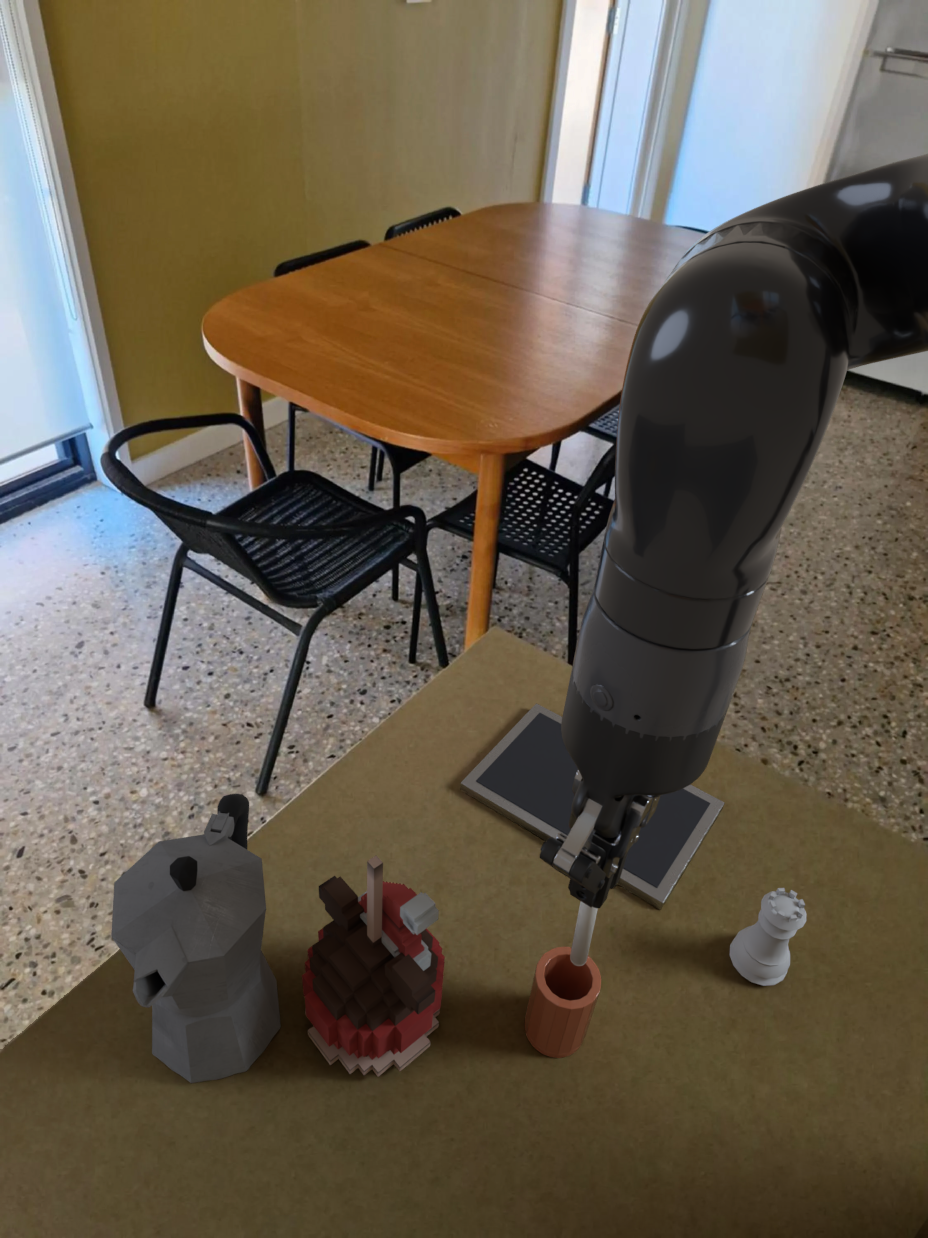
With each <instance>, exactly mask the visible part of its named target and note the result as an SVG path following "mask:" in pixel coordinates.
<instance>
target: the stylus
mask: <svg viewBox="0 0 928 1238" xmlns="http://www.w3.org/2000/svg"><path fill="white" fill-rule="evenodd" d="M593 844H594V843H593ZM596 846H597V845H596ZM598 847H599V846H598ZM598 910H599V908H594V907H589V906H588V905H586V904H585V903H583V902H581V901H580V902H579V908H578V912H577V917H576V923H575V928H574V934H573V937H572V944H571V948H572V949H571V954H570V959H571V962H572V963H573V964H574V965H576V966H582V965H584V964H585V963H586V961H587V957H588V956H589V952H590V947H591V942H592V939H593V938H592V937H593V933H594V929H595V924H596V921H597V920H596V919H597V914H598Z"/></svg>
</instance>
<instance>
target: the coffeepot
mask: <svg viewBox="0 0 928 1238" xmlns="http://www.w3.org/2000/svg"><path fill="white" fill-rule="evenodd" d="M249 801H250V800H249V799H248V797H246V795H244V794H242V793H230V794H225V795H223V796H222V797H221V799H220V800H219V801H218V804H217V809H216V810H217V814H216V813H211V814H210V815H211V816H210V817H209V819H208V822H207V824H206V826H205V828H204V831H203V834H197V835H190V836H184V837H178V838H171V839H166V840H160V841H157V843H155V844H154V845H153V846H152V847H151V848H150V849H149V850H147V852H146V853H145V854H143V855H142V856H141V857H140V858H139V859H138V860H137V861H136V862H135V863H134V864H133V865H131V866H130V867H129V868H128V869H127V870H126V871H125V872H124V873H123V874H122V875H120V877H118V879H117V880H115V881H114V883H113V897H112V916H111V917H112V918H111V932H110V933H111V935H110V936H111V939H112V940H113V941H114V943H115V944H116V946H117V947H118V948H119V950H120V951H121V953H122V954H123V955H124V957H125V959H126V960H127V961H128V963H129V965H130V966H131V967H132V969H133V970H134V974H133V986H132V993H133V995H134V998H135V1000H136V1002H137V1003H138V1005H140V1006H141V1007H142V1008H146V1009H147V1008H148V1009H149V1008H151V1009H152V1010H151V1011H152V1012H151V1015H152V1016H151V1021H152V1022H151V1054H152V1055H153V1056H154V1057H155V1058H157V1059H158V1060H159V1061H160V1062H162V1063H163V1064H164V1065H165V1066H167V1068H168V1069H170V1071H172V1072H174V1073H176V1074H178V1075H179V1076H181V1077H182V1078H184V1079H185V1080H186V1081H187V1082H189V1083H190V1084H195V1083H201V1082H208V1081H209V1082H210V1081H216V1080H221V1079H226V1078H229V1077H231V1076H233V1075H236V1074H240V1073H241V1074H242V1073H245V1072H247V1071H248V1070H249V1069H250V1068H251V1066H252V1065H253V1064H254V1063H255V1061H256V1060H257V1059H258V1058H259V1057H260V1056H261V1055H262V1054H263V1053H264V1052H265V1051H266V1049H267V1048H268V1046H269V1045H270V1043H271V1041H272V1040H273V1038H274V1037H275V1036H276V1034H277V1033H278V1032H279V1030H280V1029H281V1027H282V1026H281V1024H282V1023H281V1015H280V1005H279V994H278V984H277V983H278V982H277V979H276V977H275V975H274V972H273V970H272V968H271V967H270V965H269V963H268V961H267V959H266V957H265V955H264V953H263V951H262V945H263V938H264V928H265V922H266V921H265V920H266V914H267V904H266V903H267V900H266V890H265V879H264V869H263V859H262V857H260V856H258V855H257V854H255V853H254V852H252V851H250V850H248V831H249V817H250V815H249V814H250V802H249Z"/></svg>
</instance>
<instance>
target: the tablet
mask: <svg viewBox="0 0 928 1238" xmlns="http://www.w3.org/2000/svg"><path fill="white" fill-rule="evenodd" d="M562 716H563V715H560V714H558V713H556V712H554V711H552V710H550V709H548V708H547V707H545V706H542V705H541V704H539V703H535V704H534V705H533V706H532V707H531V708H530V709H529V710H528V711H527V712H526V714H524V715H523V716H522V718H521V719H520V720H519V721H518V722H516V724H515V725H514V726H513V727H512V728H511V729H510V730H509V731H508V732H507V733H506V734H505V736H504V737H503V738H501V740H500V741H499V742H497V744H496V745H495V746H493V748H492V749H491V750H490V751H489V752H488V753H487V754H486V755H485V756H484V757H483V759H481V761H479V763H478V764H477V765H476V766H475V767H473V769H472V770H471V771H470V772H469V773H468V774H467V775H466V776H465V778H463V780H462V781H461V782H460V785H459V786H460V787H459V790H460V791H461V792H463V793H465V794H466V795H468V796H470V797H471V798H473V799H475V800H477V801H478V802H479V803H482V804H483V805H484V806H486V807H488V808H490V809H491V810H493V811H494V812H497V813H498V814H500V815H501V816H503V817H504V818H506V819H508V820H510V821H512V822H513V823H515V824H516V825H518V826H520V827H522V828H523V829H524V830H527V831H528V832H530V833H531V834H533V835H534V836H535V837H536V836H537V837H538V838H540V839H541V840H543V841H544V842H545V841H547V840H548V839H549V838H550V837H553V838H556V836H557V835H558V833H562V834H564V835H566V836H568V834H569V833H570V831H571V829H570V827H569V820H570V816H571V812H572V802H573V799H574V796H575V795H574V793H573V791H572V787H573V783H574V779H575V775H576V773H577V771H578V768H577V766H576V764H575V763H574V761H573V759H572V758H571V756H570V754H569V753H568V751H567V749H566V747H565V744H564V741H563V737H562V731H561V722H562ZM724 806H725V802H724V801H723V800H721V799H719V798H717V797H715V796H714V795H712V794H709V793H707V792H706V791H703V790H702V789H700V788H698V787H696V786H694V785H692V784H690V785H689V786H687V787H685V788H683V789H681V790H679V791H676V792H673V793H669V794H663V795H660V798H659V801H658V804H657V808H656V811H655V813H654V814H653V815H652V817H651V818H650V820H649V821H648V823H647V824H646V826H645V827H641V828H640V832H639V834H638V835H639V838H638V840H637V842H636V843H634V844H633V845H632V846H631V847H630V849H629V851H628V854H627V857H626V860H625V864H624V867H623V870H622V873H621V877H620V880H619V881H618V883H617V884H616V885H618V886H619V887H622V888H623V889H625V890H626V891H628V892H630V893H632V894H633V895H635V896H637V897H638V898H639V899H642V900H643V901H645V902H646V903H648V904H649V905H651V906H653V907H655V908H657V909H658V910H662V909H663V907H664V905H665V904H666V903H667V901H668V899H669V898H670V895H671V894H672V892H673V891H674V889H675V887H676V886H677V884H678V882H679V881H680V880H681V877H682V876H683V875H684V872H685V871H686V870H687V868H688V867H689V864H690V863H691V861H692V860H693V858H694V857H695V855H696V853H697V851H698V850H699V848H700V847H701V845H702V843H703V842H704V840H705V839H706V837H707V835H708V834H709V832H710V830H711V829H712V827H713V825H714V824H715V822H716V821H717V819H718V818H719V815H720V814H721V812H722V811H723V809H724Z"/></svg>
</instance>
